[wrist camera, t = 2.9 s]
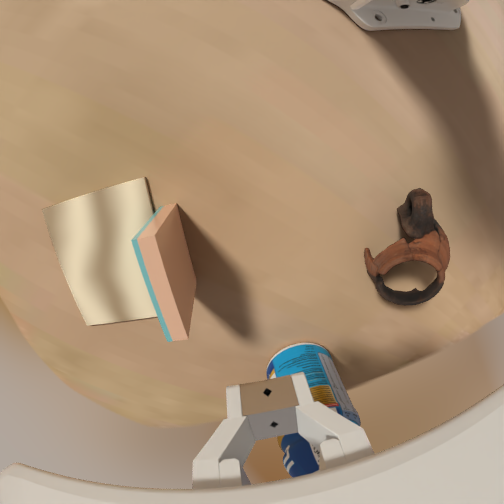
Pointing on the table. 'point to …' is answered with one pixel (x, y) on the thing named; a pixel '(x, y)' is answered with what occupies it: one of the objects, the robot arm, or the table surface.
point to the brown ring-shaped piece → (413, 250)
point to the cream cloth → (103, 251)
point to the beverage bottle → (322, 389)
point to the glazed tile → (167, 270)
